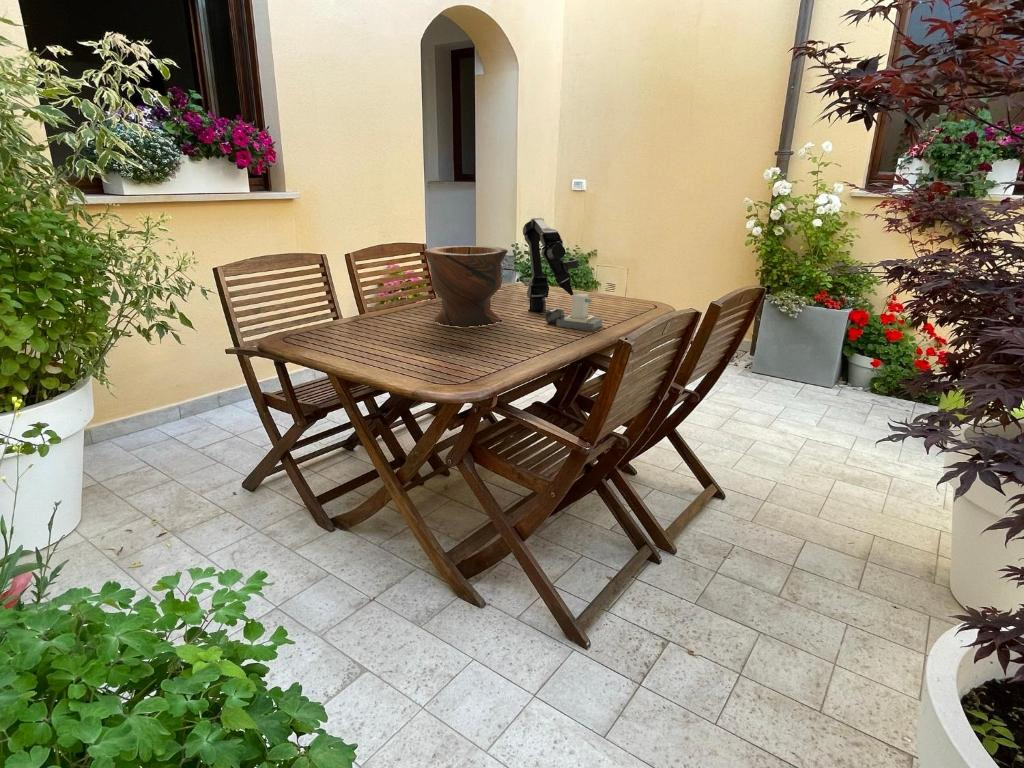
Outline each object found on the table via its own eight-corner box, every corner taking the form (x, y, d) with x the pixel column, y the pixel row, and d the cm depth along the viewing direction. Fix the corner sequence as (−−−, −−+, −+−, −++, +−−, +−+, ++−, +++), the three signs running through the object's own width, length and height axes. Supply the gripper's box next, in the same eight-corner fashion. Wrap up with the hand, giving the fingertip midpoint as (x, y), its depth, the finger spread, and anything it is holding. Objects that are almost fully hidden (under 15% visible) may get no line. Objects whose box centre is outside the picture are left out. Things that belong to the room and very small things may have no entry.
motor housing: (543, 325, 252) (543, 310, 250) (553, 320, 260) (553, 306, 258) (593, 331, 242) (593, 316, 240) (601, 326, 251) (602, 311, 249)
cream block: (571, 319, 248) (572, 295, 245) (576, 317, 252) (577, 293, 249) (587, 321, 245) (588, 297, 242) (592, 319, 249) (593, 294, 246)
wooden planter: (494, 309, 281) (493, 244, 271) (518, 326, 249) (519, 254, 240) (419, 314, 270) (416, 247, 261) (435, 333, 239) (432, 257, 229)
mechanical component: (542, 298, 303) (542, 278, 300) (521, 298, 304) (522, 278, 300) (542, 297, 306) (542, 277, 303) (521, 297, 306) (522, 277, 303)
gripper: (572, 252, 242) (590, 286, 245) (570, 249, 260) (587, 282, 263) (547, 266, 244) (566, 300, 247) (547, 262, 262) (564, 294, 265)
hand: (571, 293), depth 256 cm, fingers open, 9 cm apart
